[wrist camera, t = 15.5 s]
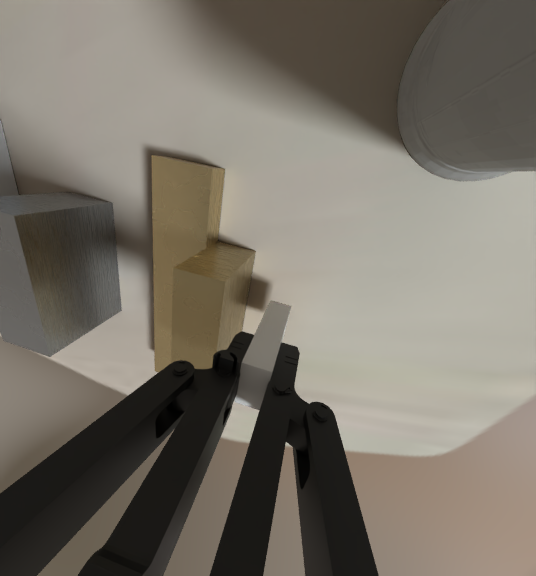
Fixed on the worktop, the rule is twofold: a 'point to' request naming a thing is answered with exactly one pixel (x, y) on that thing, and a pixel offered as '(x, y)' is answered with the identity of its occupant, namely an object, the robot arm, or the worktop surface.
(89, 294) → the steel block
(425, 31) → the grey mug
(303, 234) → the worktop surface
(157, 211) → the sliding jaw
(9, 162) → the block
